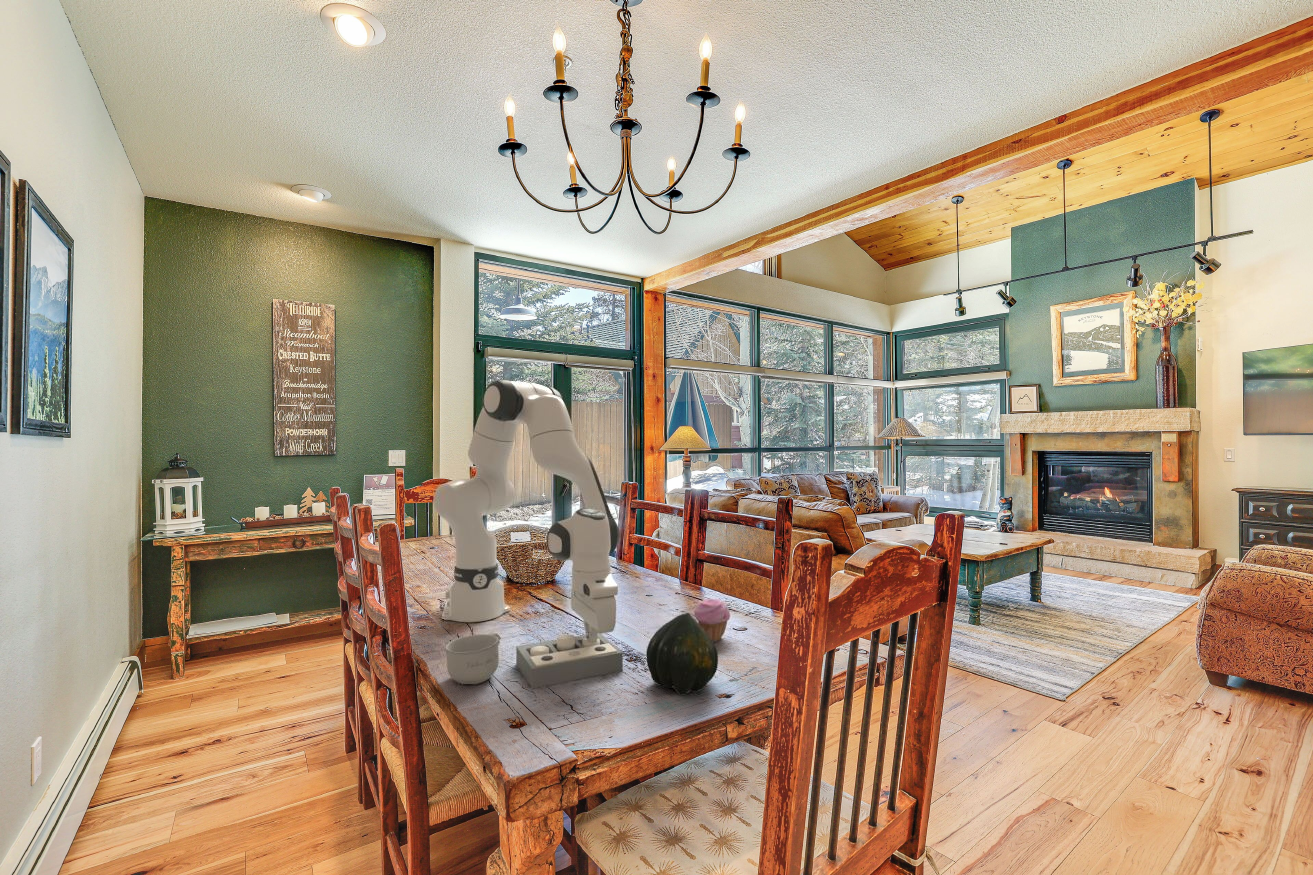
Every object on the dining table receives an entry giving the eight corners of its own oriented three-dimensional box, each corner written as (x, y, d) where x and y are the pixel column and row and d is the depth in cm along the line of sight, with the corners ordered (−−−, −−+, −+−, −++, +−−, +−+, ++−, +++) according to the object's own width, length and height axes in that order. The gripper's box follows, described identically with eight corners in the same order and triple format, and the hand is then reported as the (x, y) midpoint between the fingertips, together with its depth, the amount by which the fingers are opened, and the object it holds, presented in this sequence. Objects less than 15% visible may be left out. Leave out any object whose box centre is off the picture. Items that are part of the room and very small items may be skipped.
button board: (516, 663, 132) (516, 644, 132) (599, 649, 141) (599, 630, 141) (532, 688, 120) (532, 666, 120) (622, 670, 129) (622, 650, 128)
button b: (554, 649, 133) (554, 635, 133) (571, 646, 135) (571, 633, 135) (560, 655, 129) (560, 641, 129) (577, 652, 131) (577, 638, 131)
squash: (651, 681, 110) (697, 614, 115) (623, 656, 124) (665, 597, 128) (702, 720, 114) (745, 655, 119) (669, 692, 128) (709, 634, 132)
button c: (580, 651, 136) (579, 638, 136) (596, 649, 137) (596, 636, 137) (585, 657, 132) (585, 644, 132) (602, 654, 134) (602, 641, 134)
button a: (528, 661, 130) (528, 647, 130) (546, 657, 132) (546, 644, 132) (533, 667, 127) (533, 653, 127) (551, 664, 129) (551, 650, 129)
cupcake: (687, 638, 148) (687, 599, 148) (708, 630, 154) (708, 592, 154) (716, 647, 142) (716, 606, 142) (736, 638, 148) (736, 599, 148)
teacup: (469, 694, 117) (469, 654, 117) (434, 682, 123) (434, 644, 123) (520, 670, 129) (520, 634, 129) (486, 660, 134) (485, 625, 134)
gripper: (564, 571, 142) (564, 628, 143) (593, 592, 124) (593, 657, 124) (588, 569, 145) (588, 624, 145) (621, 589, 127) (621, 652, 127)
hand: (591, 640), depth 135 cm, fingers closed, pressing on button c
